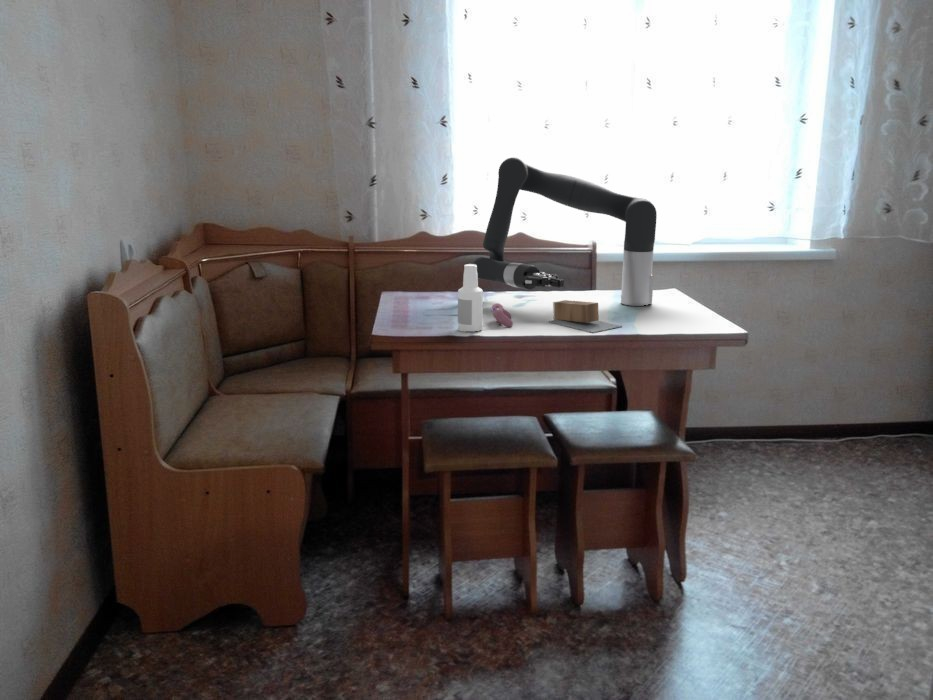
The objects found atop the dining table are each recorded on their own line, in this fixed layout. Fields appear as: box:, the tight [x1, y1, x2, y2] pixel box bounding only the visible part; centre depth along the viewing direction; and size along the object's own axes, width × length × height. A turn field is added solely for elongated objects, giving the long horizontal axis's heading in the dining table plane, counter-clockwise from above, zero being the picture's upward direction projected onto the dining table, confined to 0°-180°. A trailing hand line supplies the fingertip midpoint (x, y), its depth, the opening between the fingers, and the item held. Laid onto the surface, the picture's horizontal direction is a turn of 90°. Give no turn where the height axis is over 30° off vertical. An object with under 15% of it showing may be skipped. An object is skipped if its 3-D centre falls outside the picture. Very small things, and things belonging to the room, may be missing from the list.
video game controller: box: [491, 302, 514, 328], centre depth 226 cm, size 10×5×7 cm, turn 179°
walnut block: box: [552, 299, 600, 323], centre depth 228 cm, size 5×5×13 cm
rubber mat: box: [548, 319, 623, 333], centre depth 226 cm, size 17×12×1 cm
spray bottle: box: [457, 263, 484, 332], centre depth 217 cm, size 7×7×18 cm
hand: (562, 283), depth 230 cm, fingers closed
